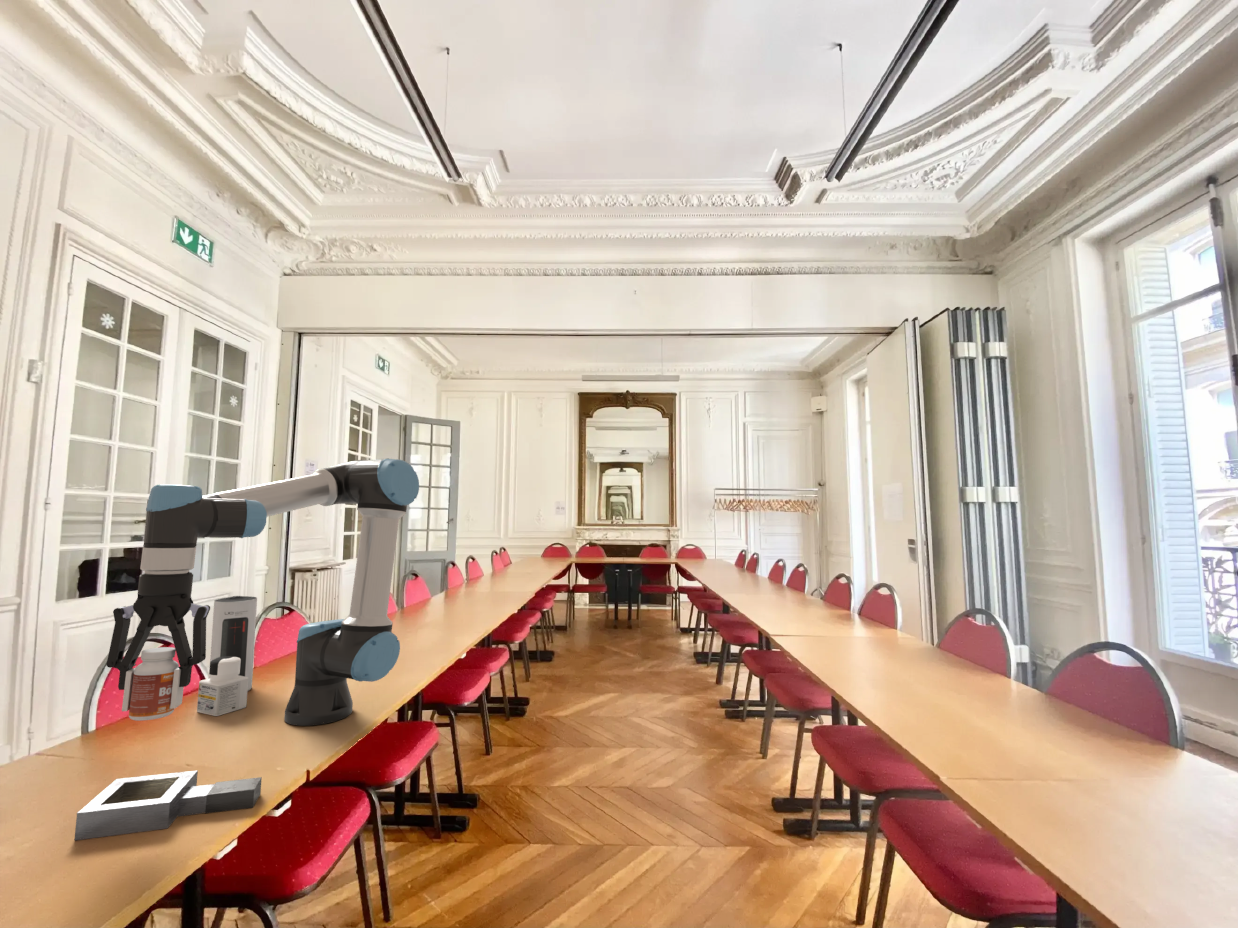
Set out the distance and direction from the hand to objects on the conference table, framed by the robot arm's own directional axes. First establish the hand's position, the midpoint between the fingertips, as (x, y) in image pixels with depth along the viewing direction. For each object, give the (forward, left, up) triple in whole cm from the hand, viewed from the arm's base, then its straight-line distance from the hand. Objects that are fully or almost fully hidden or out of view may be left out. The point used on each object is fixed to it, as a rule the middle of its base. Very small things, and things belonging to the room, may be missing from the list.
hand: (152, 707), depth 99 cm
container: (+4, -53, -17) cm, 56 cm away
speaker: (+7, -70, -17) cm, 72 cm away
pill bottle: (0, 0, -2) cm, 2 cm away
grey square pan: (-6, +2, -17) cm, 18 cm away
